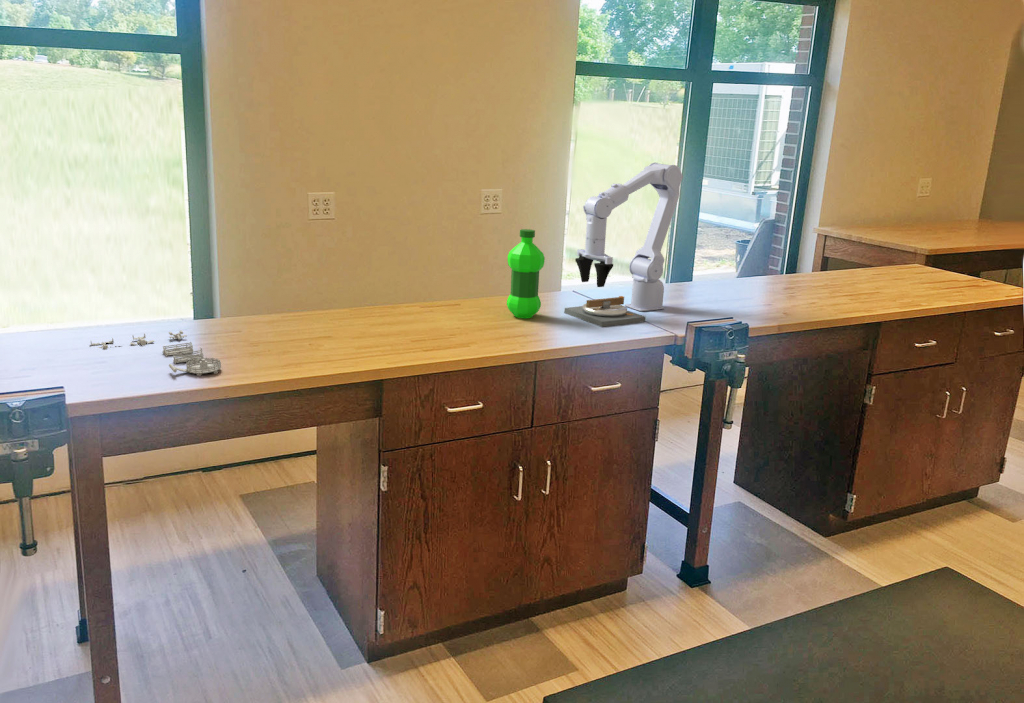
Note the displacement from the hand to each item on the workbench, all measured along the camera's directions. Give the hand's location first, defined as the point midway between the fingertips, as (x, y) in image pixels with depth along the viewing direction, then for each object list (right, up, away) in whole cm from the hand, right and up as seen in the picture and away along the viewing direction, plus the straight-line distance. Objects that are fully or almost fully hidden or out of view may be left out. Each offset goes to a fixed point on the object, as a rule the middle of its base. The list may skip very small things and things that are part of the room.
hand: (592, 284), depth 260 cm
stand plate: (+3, -10, -2) cm, 10 cm away
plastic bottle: (-21, -10, -5) cm, 23 cm away
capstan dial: (+3, -8, -2) cm, 9 cm away
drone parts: (-106, -22, -60) cm, 124 cm away
